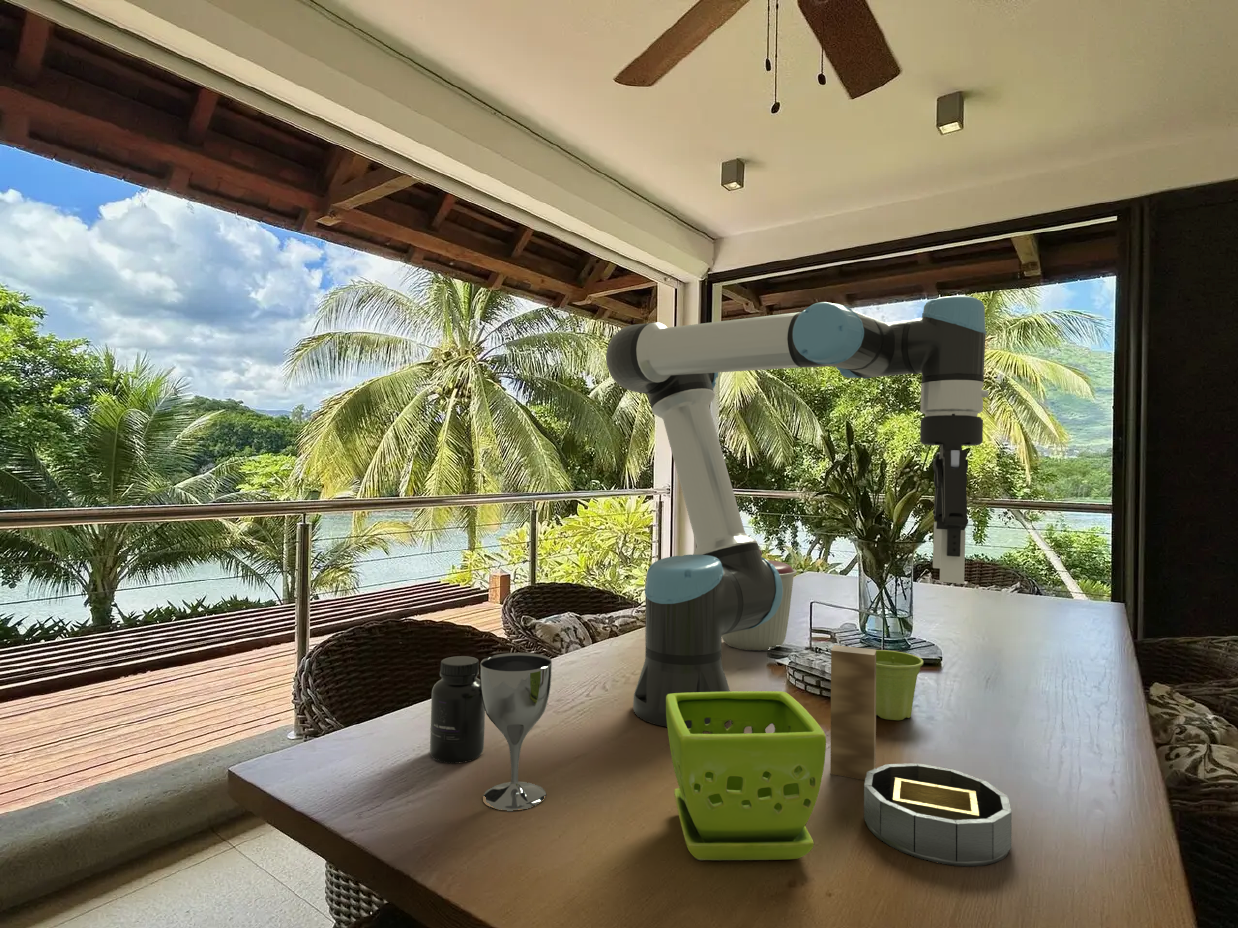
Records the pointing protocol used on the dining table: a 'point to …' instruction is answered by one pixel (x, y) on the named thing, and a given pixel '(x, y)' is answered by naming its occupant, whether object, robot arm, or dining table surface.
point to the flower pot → (745, 773)
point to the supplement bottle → (457, 712)
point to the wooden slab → (853, 711)
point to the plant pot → (895, 683)
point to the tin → (937, 814)
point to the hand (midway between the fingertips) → (947, 575)
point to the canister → (773, 628)
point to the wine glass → (515, 716)
